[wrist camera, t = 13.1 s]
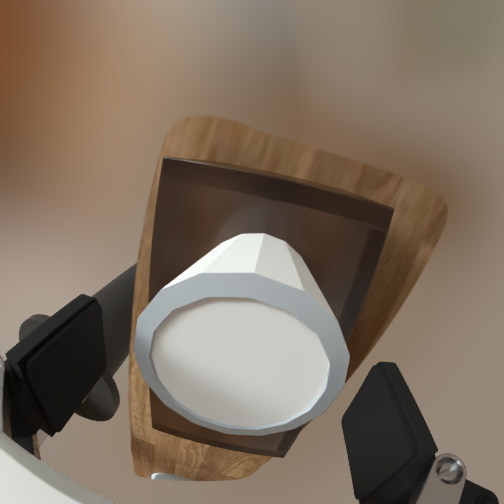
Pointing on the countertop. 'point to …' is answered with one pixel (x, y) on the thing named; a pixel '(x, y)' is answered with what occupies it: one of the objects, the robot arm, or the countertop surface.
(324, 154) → the countertop surface
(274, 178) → the tray
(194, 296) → the white cylinder
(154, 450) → the countertop surface
